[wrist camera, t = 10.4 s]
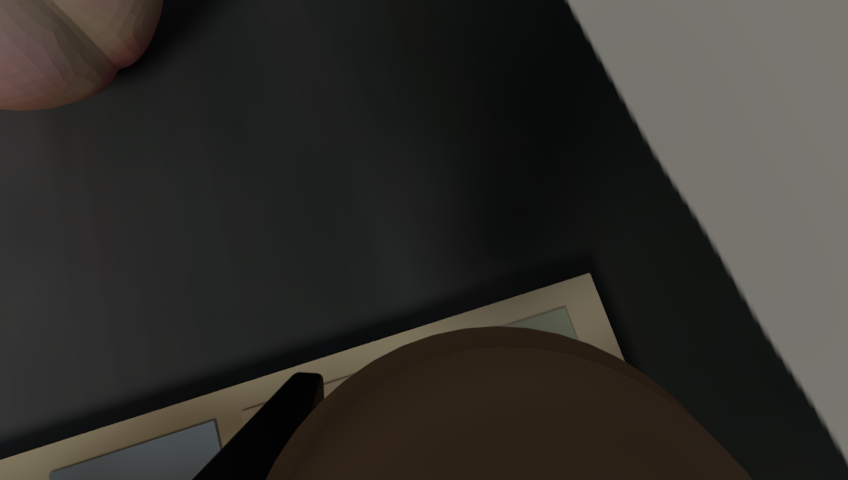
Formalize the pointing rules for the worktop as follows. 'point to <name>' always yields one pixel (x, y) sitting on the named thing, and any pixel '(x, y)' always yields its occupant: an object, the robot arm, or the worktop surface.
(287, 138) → the worktop surface
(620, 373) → the pawn
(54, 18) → the decorative fruit
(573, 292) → the game board
